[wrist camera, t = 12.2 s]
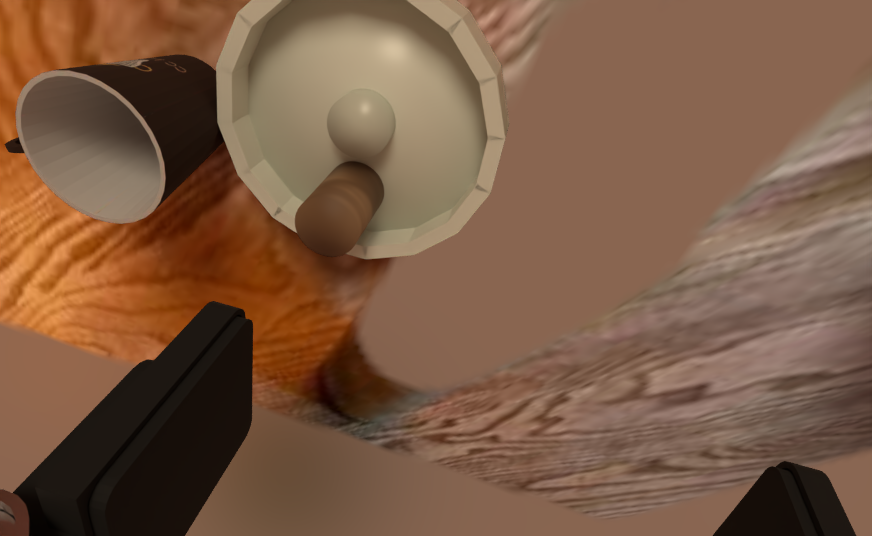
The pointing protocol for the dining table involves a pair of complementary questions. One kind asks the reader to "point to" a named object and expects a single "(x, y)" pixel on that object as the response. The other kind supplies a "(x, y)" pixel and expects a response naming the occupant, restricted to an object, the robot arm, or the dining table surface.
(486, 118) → the tray
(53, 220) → the dining table surface
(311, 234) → the cylinder
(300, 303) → the dining table surface
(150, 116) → the coffee mug
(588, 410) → the dining table surface
